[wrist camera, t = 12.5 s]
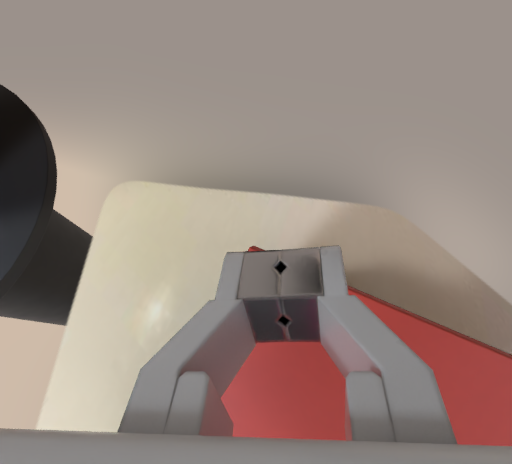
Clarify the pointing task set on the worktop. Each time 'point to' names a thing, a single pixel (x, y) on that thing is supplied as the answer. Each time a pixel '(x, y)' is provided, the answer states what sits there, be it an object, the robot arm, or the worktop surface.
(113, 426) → the worktop surface
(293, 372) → the lid
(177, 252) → the worktop surface
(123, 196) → the worktop surface
